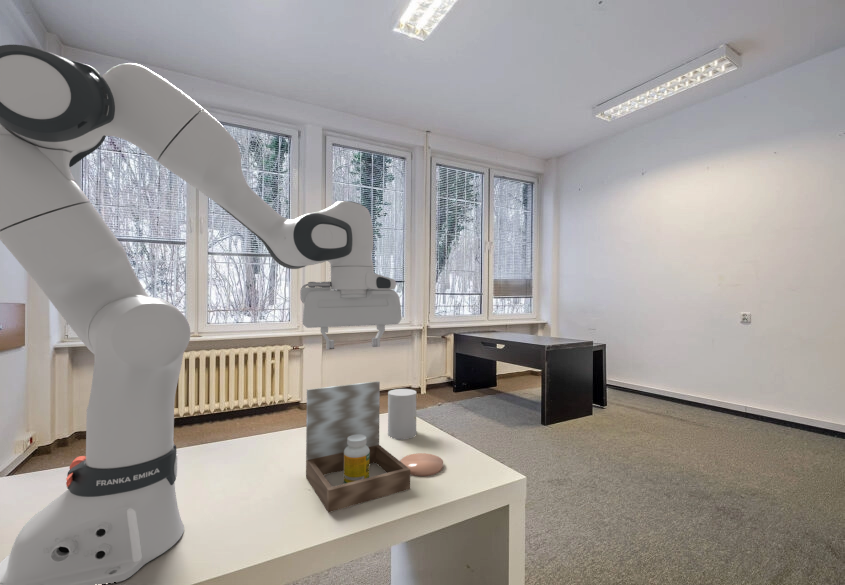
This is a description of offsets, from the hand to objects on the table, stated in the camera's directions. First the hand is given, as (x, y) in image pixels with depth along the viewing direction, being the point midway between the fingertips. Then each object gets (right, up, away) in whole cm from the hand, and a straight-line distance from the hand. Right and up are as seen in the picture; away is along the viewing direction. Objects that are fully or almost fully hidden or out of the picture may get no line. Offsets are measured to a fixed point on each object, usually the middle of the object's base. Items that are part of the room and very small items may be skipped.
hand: (353, 347), depth 80 cm
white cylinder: (+9, -29, +30) cm, 43 cm away
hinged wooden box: (0, -29, +1) cm, 29 cm away
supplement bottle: (0, -29, +1) cm, 29 cm away
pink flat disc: (+14, -29, +9) cm, 33 cm away
